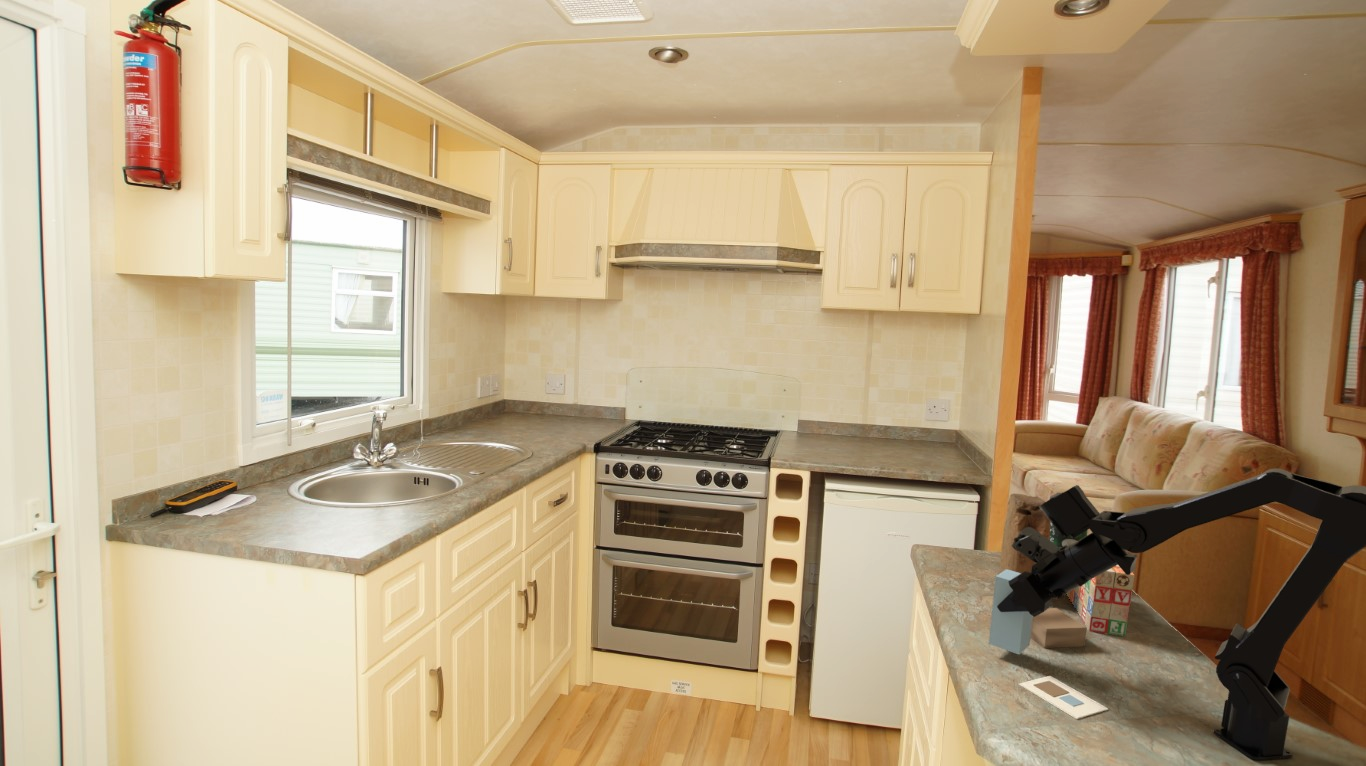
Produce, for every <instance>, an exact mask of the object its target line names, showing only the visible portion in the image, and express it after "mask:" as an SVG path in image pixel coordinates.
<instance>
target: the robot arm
mask: <svg viewBox="0 0 1366 766" xmlns="http://www.w3.org/2000/svg"><path fill="white" fill-rule="evenodd" d="M1060 493H1061V494H1059V495H1057V496H1055V497H1053V498H1051V499H1050V498H1049V499H1050V500H1049V499H1048V500H1047V501H1045V503H1043V504H1042V505H1041V506H1039V507H1040V509H1041V510H1042V511H1043V512H1044V514H1045V515H1046V516H1047V517H1048V519H1049V520H1050V521H1051V523H1052V524H1053V525H1054V526H1055V528H1056V529H1057V530H1058V531H1059V533H1060V534H1061V535H1062V536H1063V535H1065V536H1066V537H1068V536H1070V535H1071V537H1072V539H1073V538H1075V537H1076V536H1078V535H1080V534H1081V533H1083V532H1085V531H1086V530H1088V531H1089V530H1090V532H1091V533H1089V534H1087V536H1085V537H1084V538H1082V539H1080V540H1079V541H1077V542H1075V543H1073V544H1072V545H1069V546H1067V545H1065V546H1063V547H1062V548H1059V547H1057V546H1056V545H1055V544H1054V543H1053V542H1052V541H1050V540H1049V539H1048V538H1046V537H1045V536H1043V535H1042V534H1040V533H1039V532H1038V531H1036V530H1035V529H1033V528H1031V527H1027V528H1025V529H1023V530H1022V531H1021V532H1020V533H1019V535H1018V536H1017V537H1016V538H1014V542H1013V543H1012V547H1013V548H1014V549H1015V550H1016V551H1019V552H1021V553H1022V554H1023V555H1025V556H1026V557H1028V558H1029V559H1030V560H1032V561H1034V562H1036V564H1034V565H1033V566H1032V571H1031V573H1030V572H1027V571H1024V572H1023V573H1021V574H1019V575H1018V576H1016V577H1014V578H1013V579H1011V580H1010V581H1008V582H1009V586H1010V587H1011V588H1012V590H1013V591H1012V592H1011V593H1010V594H1009V595H1008V596H1007V597H1006V598H1005V599H1004V600H1003V601H1002V602H1001V603H1000V604H999V605H998V606H997V608H998V609H999V611H1000V612H1029V613H1030V614H1031V615H1032V616H1034V617H1035V616H1037V615H1039V614H1041V613H1043V612H1044V611H1046V610H1047V609H1048V608H1051V607H1052V603H1053V599H1055V598H1057V599H1060V598H1062V597H1064V596H1065V595H1066V593H1067V592H1068V591H1070V590H1072V589H1074V588H1076V587H1078V586H1082V585H1084V584H1086V583H1087V582H1088V581H1089V580H1091V579H1092V578H1094V577H1096V576H1098V575H1100V574H1102V573H1103V572H1105V571H1107V570H1109V569H1111V568H1113V567H1114V566H1116V565H1119V566H1120V568H1121V569H1122V570H1123V571H1124V573H1125V574H1127V575H1130V574H1131V573H1134V572H1135V570H1136V568H1137V567H1136V565H1137V564H1136V563H1137V560H1138V557H1139V556H1138V555H1137V554H1140V553H1144V552H1147V551H1149V550H1151V549H1153V548H1155V547H1157V546H1159V545H1160V544H1163V543H1164V542H1166V541H1168V540H1170V539H1172V538H1174V537H1175V536H1176V535H1179V534H1180V533H1182V532H1184V531H1186V530H1189V529H1191V528H1196V527H1199V526H1202V525H1205V524H1207V523H1211V522H1214V521H1218V520H1220V519H1224V518H1226V517H1230V516H1232V515H1237V514H1239V513H1243V512H1246V511H1250V510H1252V509H1255V508H1259V507H1261V506H1266V505H1268V504H1271V503H1272V504H1273V503H1278V504H1282V505H1285V506H1287V507H1289V508H1292V509H1294V510H1297V512H1300V513H1303V514H1305V515H1308V516H1309V517H1312V518H1315V519H1318V520H1321V522H1320V524H1319V527H1318V529H1317V532H1316V534H1315V537H1314V539H1313V542H1312V543H1311V544H1310V546H1309V547H1308V549H1307V550H1306V551H1305V553H1304V554H1303V556H1302V557H1301V559H1300V561H1299V562H1298V564H1296V566H1295V567H1294V569H1293V570H1292V572H1291V573H1290V575H1289V576H1288V578H1287V579H1286V580H1285V581H1284V583H1283V584H1282V585H1281V587H1280V588H1279V590H1278V592H1277V593H1276V595H1274V597H1273V599H1272V600H1271V602H1270V603H1269V605H1268V606H1267V607H1266V608H1265V610H1264V611H1263V613H1262V614H1261V616H1260V617H1259V619H1257V621H1256V622H1254V624H1252V625H1251V626H1249V627H1248V628H1247V629H1245V628H1244V627H1243V626H1242V625H1240V624H1239V623H1236V624H1235V625H1234V627H1233V629H1232V631H1231V633H1230V635H1229V637H1228V639H1227V640H1225V641H1223V642H1221V645H1220V646H1219V648H1218V650H1217V652H1216V654H1215V656H1214V659H1215V660H1219V661H1218V662H1217V665H1216V667H1215V668H1216V669H1215V673H1216V675H1217V678H1218V680H1219V682H1220V683H1221V685H1222V686H1223V687H1224V688H1225V689H1227V690H1228V694H1227V699H1226V700H1224V703H1223V704H1224V705H1223V706H1224V707H1223V711H1222V716H1221V717H1222V718H1221V728H1214V729H1213V731H1212V733H1213V734H1214V735H1216V736H1217V737H1218V738H1220V739H1222V740H1223V741H1225V742H1226V743H1227V744H1229V745H1230V746H1232V747H1234V748H1235V749H1237V750H1238V751H1239V752H1241V753H1242V754H1244V755H1245V756H1246V757H1249V759H1250V760H1251V759H1252V760H1253V761H1254V760H1255V761H1263V760H1265V761H1266V760H1276V759H1277V760H1278V759H1289V758H1290V759H1291V758H1293V753H1292V751H1289V750H1288V749H1287V748H1286V747H1285V745H1286V739H1287V732H1288V726H1289V720H1290V715H1289V714H1288V713H1286V712H1285V709H1286V705H1287V703H1288V698H1289V695H1290V691H1291V687H1289V685H1288V684H1287V683H1286V682H1285V681H1284V679H1283V678H1282V677H1281V676H1280V675H1279V674H1278V672H1277V671H1276V668H1277V665H1278V662H1279V660H1280V657H1281V654H1282V651H1284V650H1283V649H1284V647H1285V645H1286V643H1288V641H1289V639H1290V638H1291V637H1292V635H1293V634H1294V633H1295V631H1296V629H1298V627H1299V625H1300V624H1302V623H1301V622H1303V620H1304V619H1305V617H1306V616H1307V615H1308V613H1309V612H1310V611H1311V609H1312V608H1313V607H1314V605H1315V604H1316V603H1317V601H1318V600H1319V598H1320V597H1321V596H1322V594H1323V593H1324V592H1325V590H1326V589H1327V587H1328V586H1329V584H1331V582H1332V581H1333V579H1334V578H1335V577H1336V575H1337V574H1338V573H1339V571H1340V570H1341V568H1342V567H1343V566H1344V564H1345V563H1346V562H1348V560H1350V559H1351V558H1352V557H1354V556H1356V555H1357V554H1358V553H1359V552H1361V551H1362V550H1363V549H1364V548H1366V486H1365V485H1358V484H1357V485H1356V484H1355V485H1353V484H1352V485H1347V486H1342V485H1339V484H1335V483H1332V482H1328V481H1326V480H1321V479H1317V478H1311V477H1309V476H1304V475H1300V474H1297V473H1293V472H1290V471H1288V470H1285V469H1283V468H1271V469H1267V470H1265V471H1264V472H1263V473H1260V474H1257V475H1255V476H1252V477H1249V478H1246V479H1243V480H1240V481H1237V482H1234V483H1231V484H1228V485H1226V486H1222V487H1220V488H1217V489H1213V490H1210V491H1208V492H1204V493H1201V494H1199V495H1195V496H1193V497H1190V498H1187V499H1183V500H1180V501H1177V502H1173V503H1163V504H1154V505H1149V506H1147V505H1146V506H1141V507H1136V508H1131V509H1130V510H1128V511H1126V512H1122V511H1113V510H1103V511H1101V512H1100V511H1099V510H1098V509H1097V508H1096V507H1095V506H1094V504H1092V502H1091V501H1090V500H1089V499H1088V497H1087V496H1086V493H1085V492H1084V490H1083V489H1082V488H1081V487H1080V486H1079V485H1078V484H1075V485H1074V486H1071V488H1069V489H1067V490H1065V491H1064V492H1060Z"/></svg>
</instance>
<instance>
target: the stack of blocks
mask: <svg viewBox="0 0 1366 766" xmlns="http://www.w3.org/2000/svg"><path fill="white" fill-rule="evenodd" d="M1134 580H1135V574H1134V572H1132V573H1131V574H1130V575H1127V574H1125V573H1124V571H1123V570H1122V569H1121V568H1120V566H1119V565H1116V566H1114V567H1113V568H1111V569H1109V570H1107V571H1105V572H1103V573H1102V574H1100V575H1098V576H1096V577H1094V578H1092V579H1091V580H1089V581H1088V582H1087V583H1086V584H1084V585H1082V586H1078V587H1076V588H1074V589H1072V590H1070V591H1068V592H1067V593H1066V594H1067V595H1066V594H1065V595H1066V596H1068V597H1069V598H1068V597H1067V598H1068V600H1069V599H1070V600H1069V601H1070V603H1071V602H1072V603H1071V604H1073V605H1074V606H1073V605H1072V606H1073V607H1074V609H1075V608H1076V609H1075V611H1076V610H1077V611H1078V612H1077V611H1076V612H1077V613H1079V614H1078V615H1079V616H1081V617H1080V619H1081V618H1082V619H1081V620H1083V621H1082V622H1083V624H1084V623H1085V624H1084V626H1085V625H1086V626H1085V627H1087V631H1088V632H1091V631H1093V632H1092V633H1099V632H1100V633H1099V634H1104V633H1107V634H1106V635H1112V634H1117V635H1116V636H1118V635H1123V636H1122V637H1124V636H1125V637H1126V633H1127V629H1128V628H1127V627H1128V619H1129V618H1128V617H1129V611H1130V606H1131V601H1132V597H1133V596H1132V593H1133V588H1134V587H1133V585H1134Z"/></svg>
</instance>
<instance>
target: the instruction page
mask: <svg viewBox="0 0 1366 766" xmlns="http://www.w3.org/2000/svg"><path fill="white" fill-rule="evenodd" d="M1019 686H1021V687H1022V688H1024V689H1025V690H1027V691H1029V692H1031V693H1032V694H1034V695H1036V696H1037V697H1039V698H1040V699H1043V700H1044V701H1045V702H1047V703H1049V704H1051V705H1052V706H1054V707H1055V708H1057V709H1058V710H1061V711H1062V712H1064V713H1065V714H1067V715H1069V716H1071V717H1072V718H1074V719H1075V720H1080V719H1082V718H1085V717H1088V716H1092V715H1096V714H1099V713H1102V712H1105V711H1109V708H1107V707H1106V706H1104V705H1102V704H1101V703H1099V702H1098V701H1095V700H1094V699H1092V698H1090V697H1088V696H1087V695H1085V694H1083V693H1081V692H1080V691H1078V690H1076V689H1074V688H1073V687H1071V686H1069V685H1067V684H1065V683H1063V682H1062V681H1060V680H1059V679H1057V678H1055V677H1053V676H1051V675H1048V676H1043V677H1039V678H1035V679H1032V680H1028V681H1023V682H1019Z"/></svg>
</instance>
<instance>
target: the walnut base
mask: <svg viewBox="0 0 1366 766" xmlns="http://www.w3.org/2000/svg"><path fill="white" fill-rule="evenodd" d="M1087 631H1088V629H1087V627H1086V626H1085V624H1082V623H1081V622H1079V621H1078V620H1076V619H1074V618H1073V617H1072V616H1070V615H1068V614H1067V613H1065V612H1064V611H1062V610H1060V609H1059V608H1058V607H1049V608H1048V609H1047V610H1046V611H1044V612H1043V613H1041V614H1039V615H1037V616H1035V617H1034V616H1033V619H1032V628H1031V637H1030V639H1032V640H1033V641H1035V642H1036V643H1037V644H1039V645H1040V646H1041V647H1043V648H1044V649H1046V648H1047V649H1049V648H1071V647H1073V648H1075V647H1085V645H1086V638H1087Z"/></svg>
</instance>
